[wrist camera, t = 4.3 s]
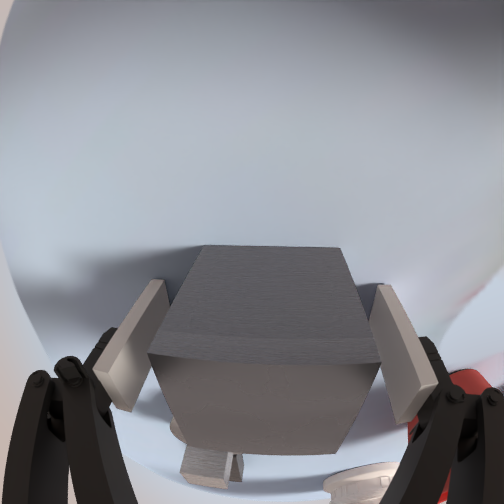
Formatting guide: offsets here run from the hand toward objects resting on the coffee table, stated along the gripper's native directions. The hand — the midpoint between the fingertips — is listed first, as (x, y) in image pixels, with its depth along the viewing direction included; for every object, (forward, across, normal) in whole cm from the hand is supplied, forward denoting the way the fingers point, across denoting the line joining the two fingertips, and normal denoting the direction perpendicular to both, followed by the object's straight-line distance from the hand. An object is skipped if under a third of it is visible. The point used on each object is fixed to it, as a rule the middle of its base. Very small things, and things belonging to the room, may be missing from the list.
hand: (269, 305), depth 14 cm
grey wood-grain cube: (0, 0, 0) cm, 0 cm away
